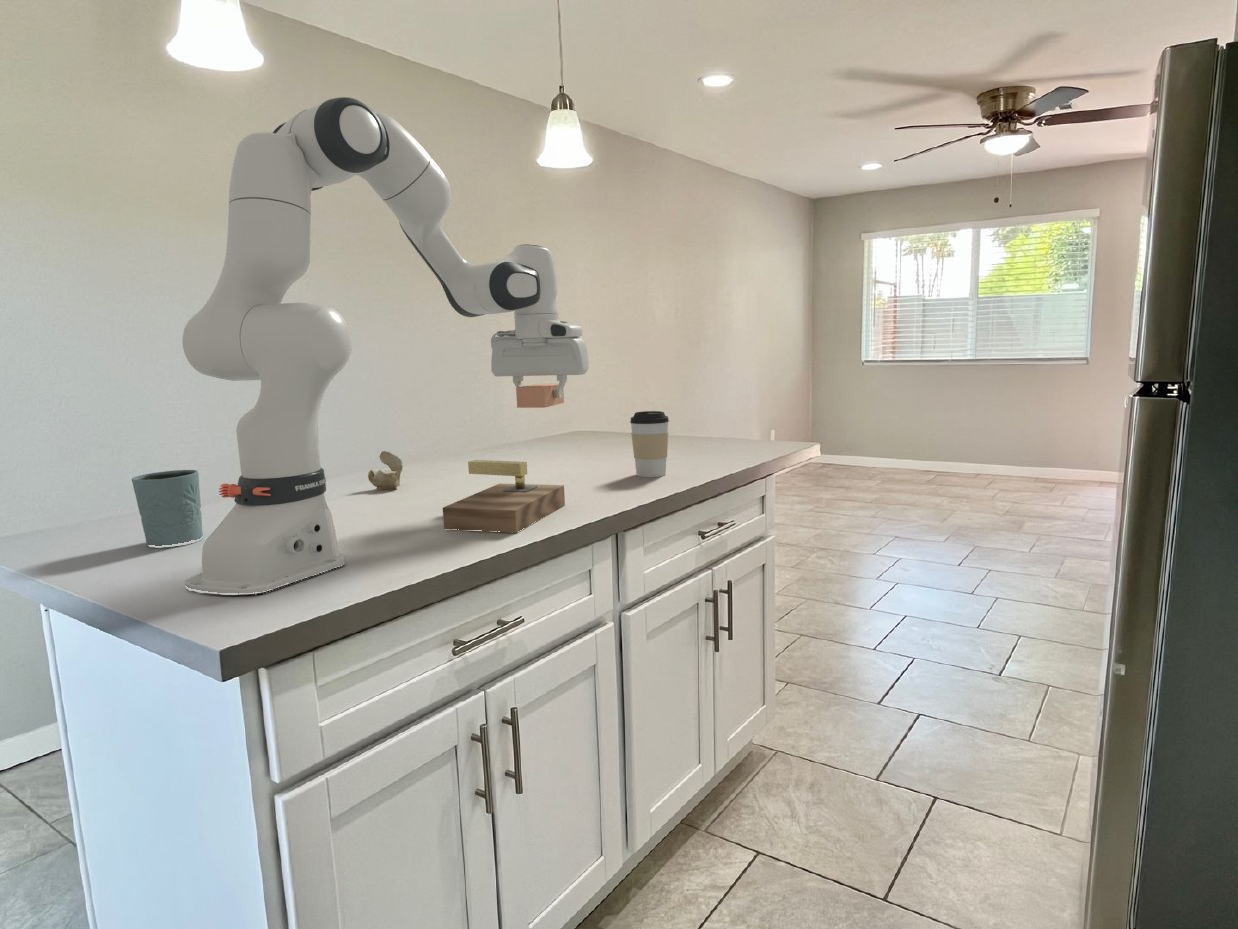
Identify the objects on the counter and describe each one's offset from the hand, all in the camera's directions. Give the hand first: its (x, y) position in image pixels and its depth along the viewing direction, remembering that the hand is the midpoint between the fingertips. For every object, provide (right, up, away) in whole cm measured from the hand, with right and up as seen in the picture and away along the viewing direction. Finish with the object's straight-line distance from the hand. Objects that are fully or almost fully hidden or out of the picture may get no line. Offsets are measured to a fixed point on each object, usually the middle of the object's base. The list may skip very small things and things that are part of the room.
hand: (540, 398), depth 159 cm
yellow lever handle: (-8, -18, -6) cm, 20 cm away
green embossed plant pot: (-62, -27, -23) cm, 71 cm away
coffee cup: (+23, -16, +24) cm, 37 cm away
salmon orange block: (0, -1, 0) cm, 1 cm away
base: (-5, -23, -13) cm, 27 cm away
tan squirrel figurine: (-36, -19, +19) cm, 45 cm away
